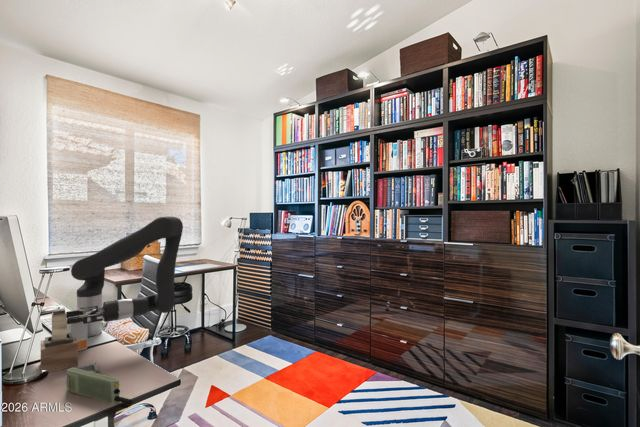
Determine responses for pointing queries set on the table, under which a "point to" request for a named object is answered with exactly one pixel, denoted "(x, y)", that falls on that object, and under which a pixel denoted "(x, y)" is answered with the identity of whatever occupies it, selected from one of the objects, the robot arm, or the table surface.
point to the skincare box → (79, 334)
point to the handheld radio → (94, 386)
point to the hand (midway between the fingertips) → (66, 317)
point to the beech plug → (59, 325)
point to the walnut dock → (59, 353)
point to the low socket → (90, 367)
